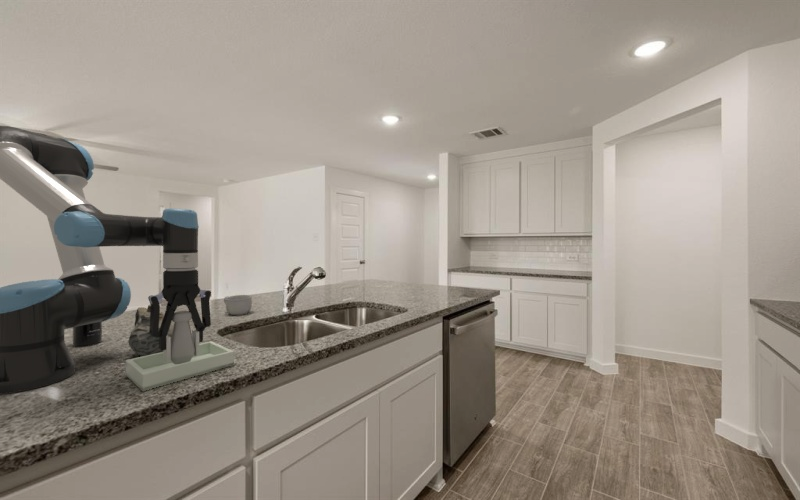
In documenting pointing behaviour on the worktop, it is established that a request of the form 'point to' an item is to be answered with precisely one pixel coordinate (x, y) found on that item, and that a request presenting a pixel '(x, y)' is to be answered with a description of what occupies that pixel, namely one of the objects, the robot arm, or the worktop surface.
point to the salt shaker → (182, 338)
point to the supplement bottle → (87, 334)
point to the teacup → (238, 304)
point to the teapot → (145, 333)
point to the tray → (177, 366)
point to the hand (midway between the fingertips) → (181, 358)
